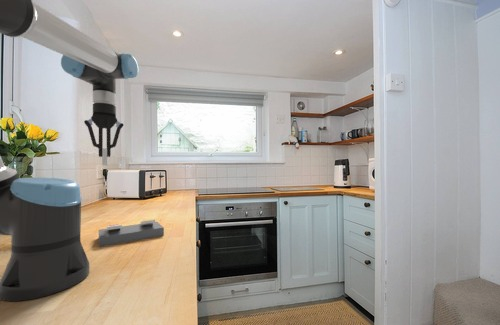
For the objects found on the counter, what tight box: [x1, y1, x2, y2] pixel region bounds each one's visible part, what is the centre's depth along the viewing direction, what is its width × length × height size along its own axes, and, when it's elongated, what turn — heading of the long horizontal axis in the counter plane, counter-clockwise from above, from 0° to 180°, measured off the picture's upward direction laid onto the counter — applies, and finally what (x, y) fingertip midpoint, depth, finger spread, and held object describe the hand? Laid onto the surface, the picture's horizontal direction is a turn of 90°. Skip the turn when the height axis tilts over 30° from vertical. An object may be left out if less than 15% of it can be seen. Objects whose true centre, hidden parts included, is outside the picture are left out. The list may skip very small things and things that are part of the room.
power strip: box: [98, 221, 165, 248], centre depth 83 cm, size 11×20×4 cm, turn 125°
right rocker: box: [139, 219, 156, 225], centre depth 86 cm, size 7×4×1 cm, turn 35°
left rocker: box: [106, 223, 122, 230], centre depth 80 cm, size 7×4×1 cm, turn 35°
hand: (104, 165), depth 87 cm, fingers closed
